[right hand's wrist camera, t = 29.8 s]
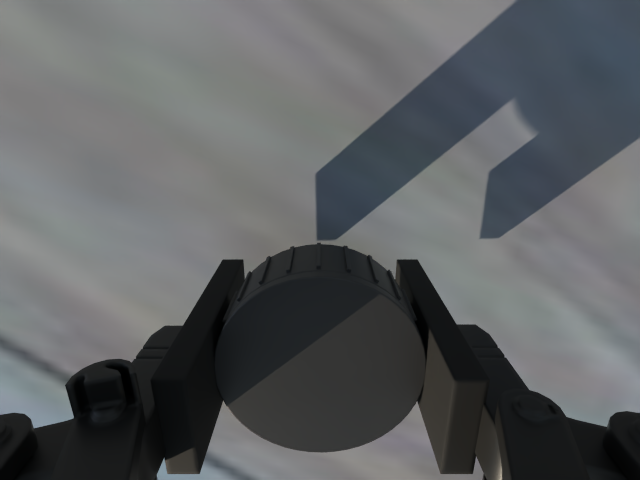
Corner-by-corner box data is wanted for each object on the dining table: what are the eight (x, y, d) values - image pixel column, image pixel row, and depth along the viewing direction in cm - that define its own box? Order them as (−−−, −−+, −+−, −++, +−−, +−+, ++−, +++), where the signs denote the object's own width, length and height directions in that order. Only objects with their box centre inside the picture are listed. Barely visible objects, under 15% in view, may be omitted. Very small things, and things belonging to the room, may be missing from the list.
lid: (416, 387, 13) (435, 443, 11) (250, 406, 14) (237, 464, 12) (403, 228, 11) (423, 259, 9) (210, 256, 12) (184, 292, 10)
